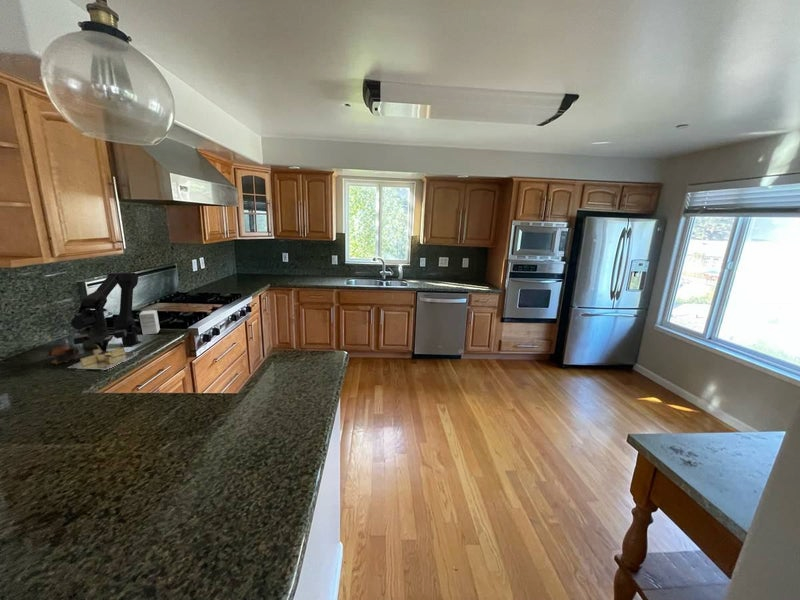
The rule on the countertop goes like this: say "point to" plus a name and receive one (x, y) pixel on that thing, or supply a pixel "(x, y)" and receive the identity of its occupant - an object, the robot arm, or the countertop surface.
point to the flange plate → (105, 364)
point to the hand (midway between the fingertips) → (105, 352)
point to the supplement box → (149, 322)
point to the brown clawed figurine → (62, 353)
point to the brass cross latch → (102, 356)
